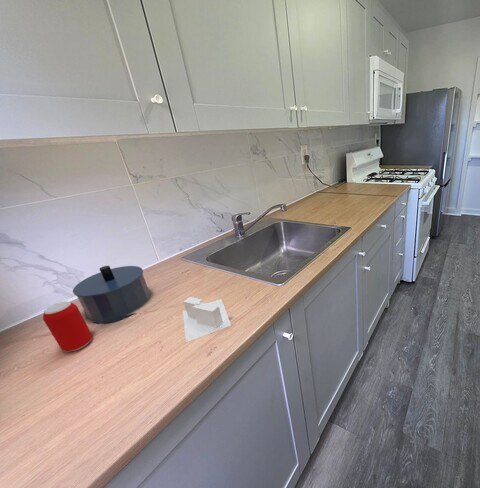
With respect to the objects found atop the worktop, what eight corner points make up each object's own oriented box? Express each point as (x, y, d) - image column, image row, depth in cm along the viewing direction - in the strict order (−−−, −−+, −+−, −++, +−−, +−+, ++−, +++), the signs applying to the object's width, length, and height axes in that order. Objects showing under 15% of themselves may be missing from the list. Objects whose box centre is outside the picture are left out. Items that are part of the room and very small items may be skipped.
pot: (79, 330, 73) (63, 301, 70) (102, 299, 87) (91, 274, 83) (143, 315, 78) (132, 288, 74) (156, 288, 91) (147, 264, 88)
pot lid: (61, 305, 69) (52, 288, 67) (90, 275, 84) (83, 261, 82) (134, 290, 74) (127, 274, 72) (150, 264, 88) (145, 251, 86)
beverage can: (93, 333, 72) (74, 296, 67) (94, 345, 67) (73, 306, 63) (63, 344, 68) (41, 306, 64) (62, 358, 64) (38, 318, 59)
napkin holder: (232, 325, 72) (227, 307, 69) (186, 342, 66) (179, 324, 64) (221, 298, 84) (217, 282, 81) (181, 311, 78) (176, 295, 76)
